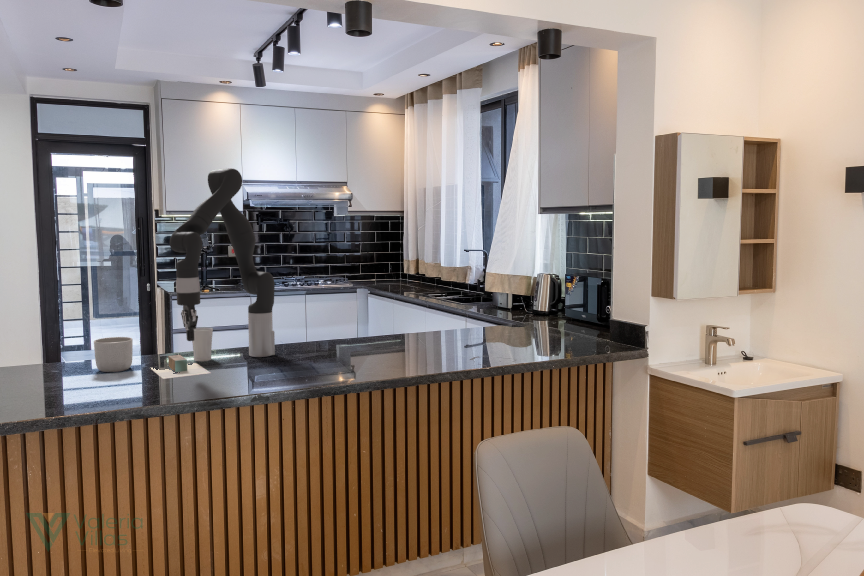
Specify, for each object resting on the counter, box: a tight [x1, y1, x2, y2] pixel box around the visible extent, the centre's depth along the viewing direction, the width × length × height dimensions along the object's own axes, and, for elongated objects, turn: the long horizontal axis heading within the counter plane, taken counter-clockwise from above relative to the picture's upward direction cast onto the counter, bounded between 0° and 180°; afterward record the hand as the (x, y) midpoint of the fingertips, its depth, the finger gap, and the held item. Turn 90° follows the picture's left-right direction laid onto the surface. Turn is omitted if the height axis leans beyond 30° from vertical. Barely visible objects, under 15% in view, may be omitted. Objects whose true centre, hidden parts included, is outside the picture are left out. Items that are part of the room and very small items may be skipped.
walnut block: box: [167, 354, 188, 372], centre depth 238 cm, size 4×4×10 cm
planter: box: [93, 336, 134, 373], centre depth 236 cm, size 12×12×11 cm
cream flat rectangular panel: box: [150, 362, 211, 380], centre depth 236 cm, size 16×20×1 cm
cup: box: [191, 326, 214, 362], centre depth 254 cm, size 8×8×12 cm
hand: (190, 340), depth 228 cm, fingers closed
